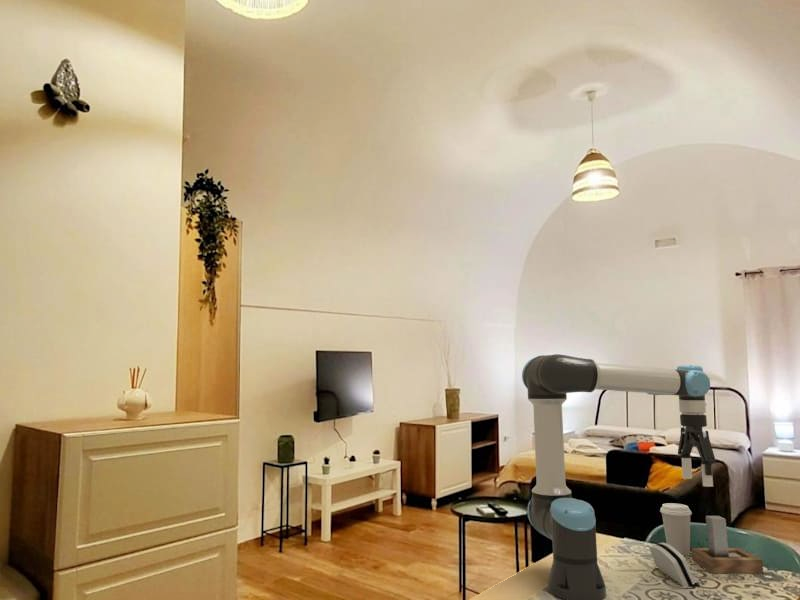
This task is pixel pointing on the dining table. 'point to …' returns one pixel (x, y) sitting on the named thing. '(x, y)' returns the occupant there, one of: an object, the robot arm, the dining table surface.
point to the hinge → (673, 564)
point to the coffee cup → (677, 526)
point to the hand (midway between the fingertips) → (697, 482)
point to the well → (728, 562)
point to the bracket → (718, 537)
